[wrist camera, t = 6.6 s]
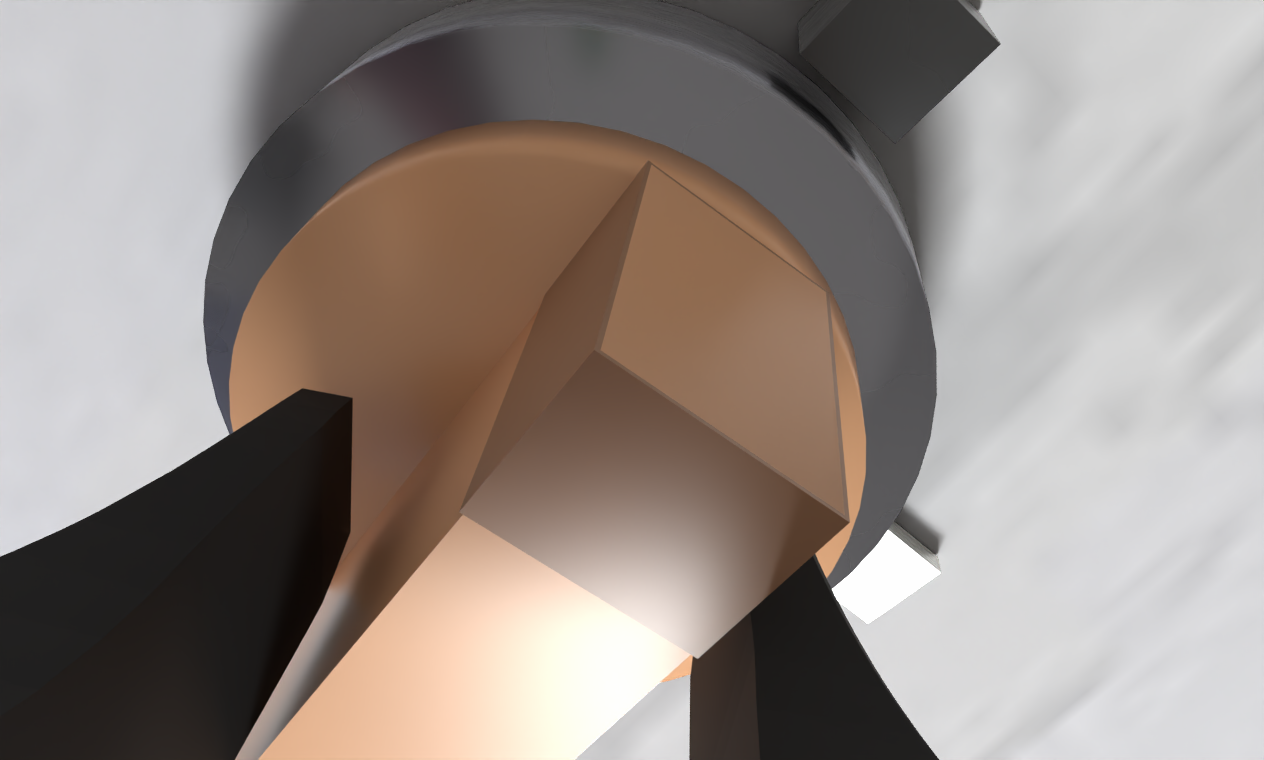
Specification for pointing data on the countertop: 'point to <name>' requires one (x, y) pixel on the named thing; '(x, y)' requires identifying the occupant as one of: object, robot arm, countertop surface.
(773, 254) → the twist cap
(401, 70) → the post base
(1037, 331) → the countertop surface
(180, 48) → the countertop surface
